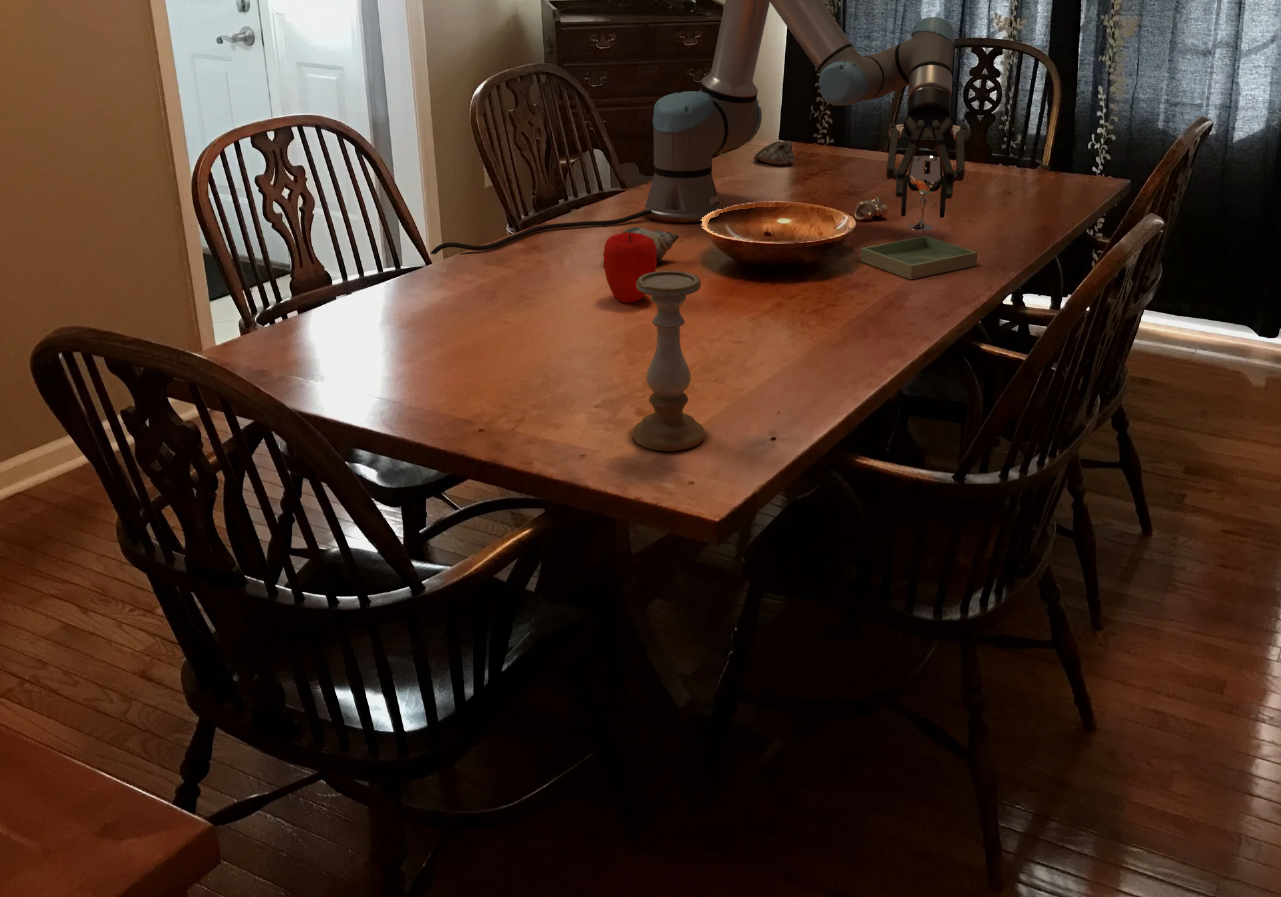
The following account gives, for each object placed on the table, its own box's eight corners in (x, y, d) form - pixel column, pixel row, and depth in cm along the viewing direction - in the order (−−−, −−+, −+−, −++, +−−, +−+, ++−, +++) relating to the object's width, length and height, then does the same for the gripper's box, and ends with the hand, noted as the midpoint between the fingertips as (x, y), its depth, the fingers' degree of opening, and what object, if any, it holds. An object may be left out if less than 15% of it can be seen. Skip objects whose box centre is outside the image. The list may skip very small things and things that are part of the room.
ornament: (879, 224, 248) (880, 205, 247) (847, 219, 251) (848, 201, 250) (895, 215, 254) (896, 197, 253) (863, 211, 258) (864, 193, 256)
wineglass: (936, 223, 223) (941, 154, 218) (939, 231, 218) (945, 162, 213) (902, 222, 224) (907, 154, 219) (905, 231, 219) (911, 161, 214)
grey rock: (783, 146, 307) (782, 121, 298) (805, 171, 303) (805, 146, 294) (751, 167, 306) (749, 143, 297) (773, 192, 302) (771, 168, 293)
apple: (667, 302, 205) (667, 236, 201) (620, 311, 202) (619, 244, 197) (640, 288, 212) (639, 224, 208) (594, 296, 209) (592, 232, 204)
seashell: (614, 264, 230) (677, 269, 226) (599, 258, 223) (663, 263, 219) (619, 229, 230) (681, 234, 226) (604, 222, 223) (668, 226, 219)
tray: (910, 279, 215) (911, 265, 214) (860, 261, 225) (860, 248, 224) (976, 265, 222) (977, 252, 221) (924, 248, 232) (925, 235, 231)
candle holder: (690, 456, 152) (691, 293, 143) (622, 446, 155) (619, 286, 146) (713, 428, 159) (715, 272, 151) (648, 419, 162) (647, 265, 154)
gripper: (981, 112, 226) (977, 225, 218) (875, 110, 229) (866, 222, 221) (986, 86, 219) (981, 202, 211) (876, 84, 222) (867, 199, 214)
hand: (922, 212), depth 216 cm, fingers closed on wineglass, 6 cm apart
